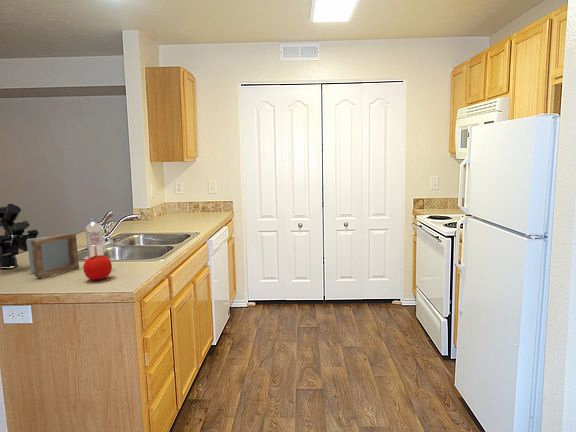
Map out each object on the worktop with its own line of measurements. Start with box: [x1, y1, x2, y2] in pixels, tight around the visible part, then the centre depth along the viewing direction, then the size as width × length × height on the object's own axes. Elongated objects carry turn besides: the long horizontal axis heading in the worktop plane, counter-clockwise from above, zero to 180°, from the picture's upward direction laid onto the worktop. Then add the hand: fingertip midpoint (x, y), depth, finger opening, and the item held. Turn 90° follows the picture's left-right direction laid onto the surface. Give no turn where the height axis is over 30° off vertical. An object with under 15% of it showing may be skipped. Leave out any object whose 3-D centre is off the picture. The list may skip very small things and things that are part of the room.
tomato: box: [82, 254, 113, 281], centre depth 198 cm, size 12×12×11 cm
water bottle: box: [85, 218, 105, 259], centre depth 213 cm, size 7×7×25 cm
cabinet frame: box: [31, 232, 80, 279], centre depth 211 cm, size 4×20×18 cm, turn 152°
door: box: [26, 236, 70, 273], centre depth 217 cm, size 3×17×16 cm, turn 117°
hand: (26, 250), depth 217 cm, fingers closed
